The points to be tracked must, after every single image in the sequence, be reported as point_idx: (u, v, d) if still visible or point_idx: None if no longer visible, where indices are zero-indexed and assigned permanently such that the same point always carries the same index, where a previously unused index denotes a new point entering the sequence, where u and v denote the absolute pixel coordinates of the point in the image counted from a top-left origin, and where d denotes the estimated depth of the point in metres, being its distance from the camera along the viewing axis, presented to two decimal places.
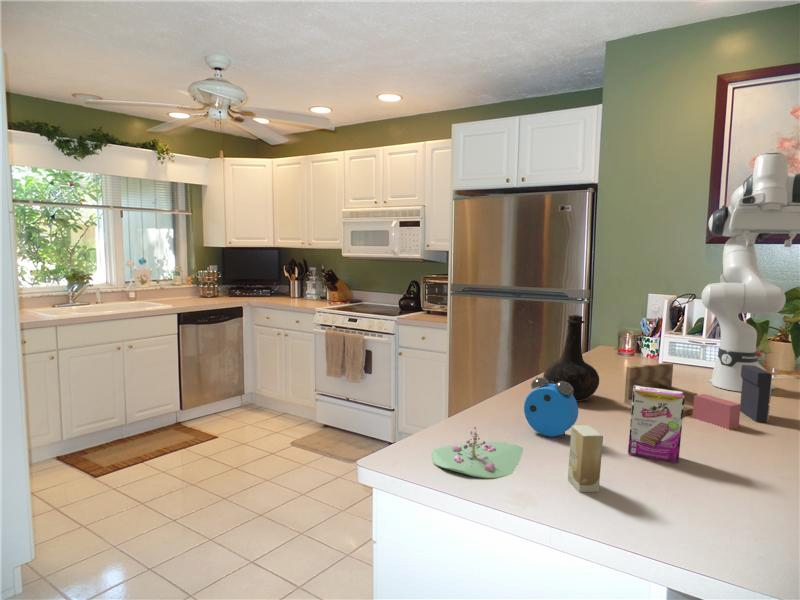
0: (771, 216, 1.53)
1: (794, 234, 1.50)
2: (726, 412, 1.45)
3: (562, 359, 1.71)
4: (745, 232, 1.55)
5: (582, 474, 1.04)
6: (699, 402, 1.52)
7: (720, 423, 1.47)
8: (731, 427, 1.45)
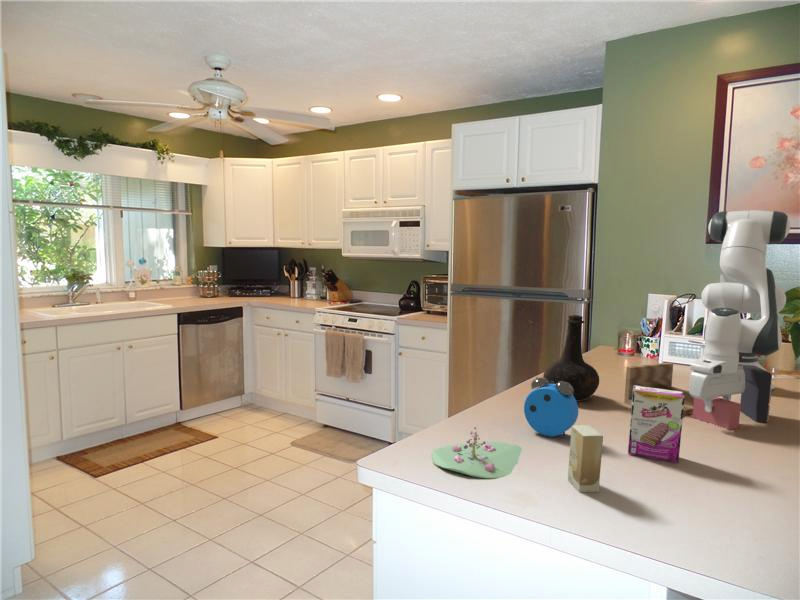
0: (724, 382, 1.48)
1: (729, 398, 1.51)
2: (726, 412, 1.45)
3: (562, 359, 1.71)
4: (710, 399, 1.47)
5: (582, 474, 1.04)
6: (699, 402, 1.52)
7: (720, 423, 1.47)
8: (731, 427, 1.45)
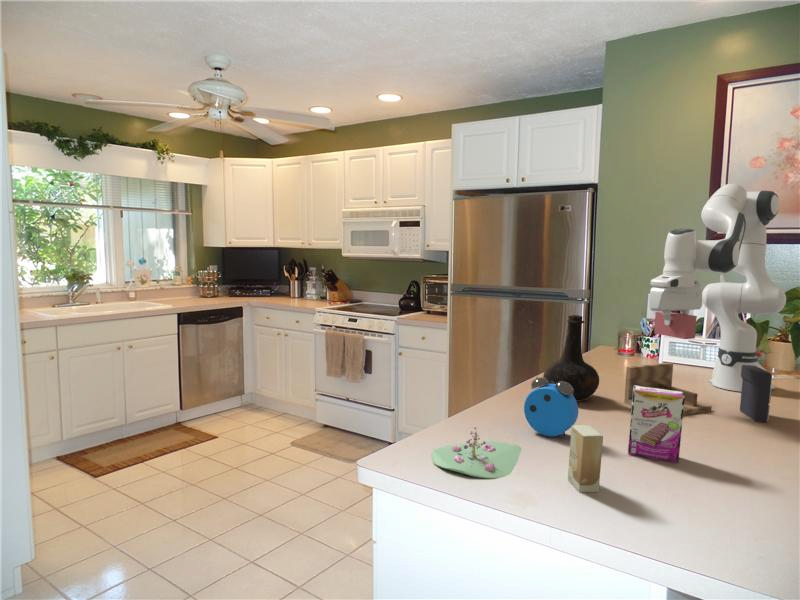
0: (681, 297, 1.60)
1: (687, 313, 1.62)
2: (683, 323, 1.57)
3: (562, 359, 1.71)
4: (669, 313, 1.59)
5: (582, 474, 1.04)
6: (659, 317, 1.64)
7: (677, 334, 1.59)
8: (688, 337, 1.57)
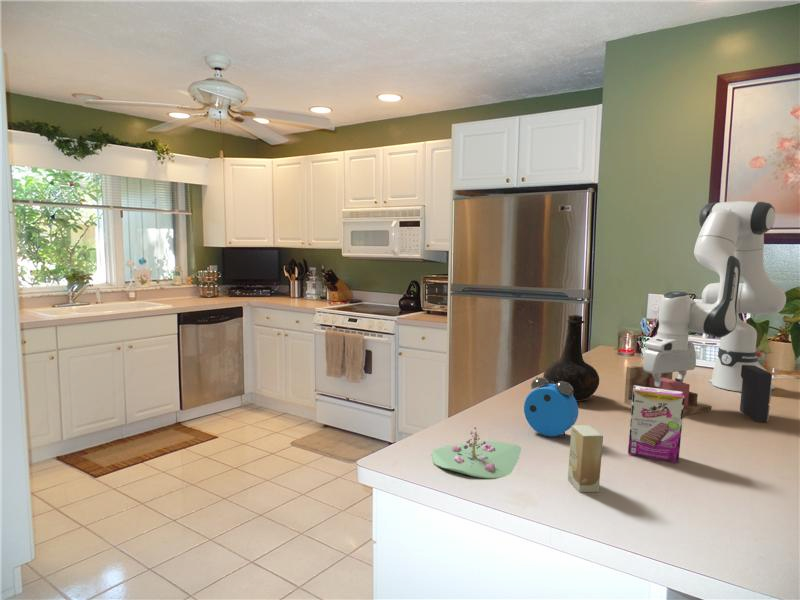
0: (675, 359, 1.62)
1: (685, 374, 1.65)
2: None
3: (562, 359, 1.71)
4: (659, 375, 1.60)
5: (582, 474, 1.04)
6: (653, 383, 1.67)
7: None
8: None
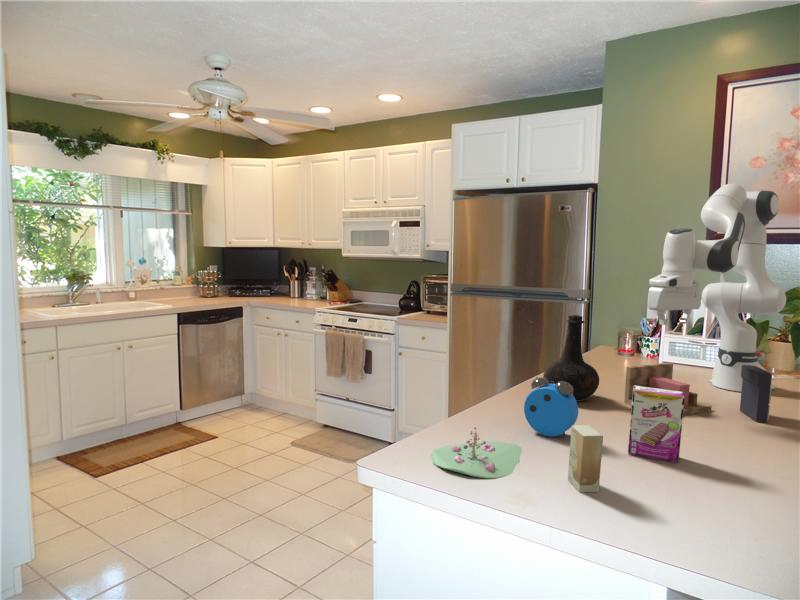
0: (680, 297, 1.60)
1: (690, 313, 1.63)
2: None
3: (562, 359, 1.71)
4: (663, 312, 1.58)
5: (582, 474, 1.04)
6: (653, 383, 1.67)
7: None
8: None
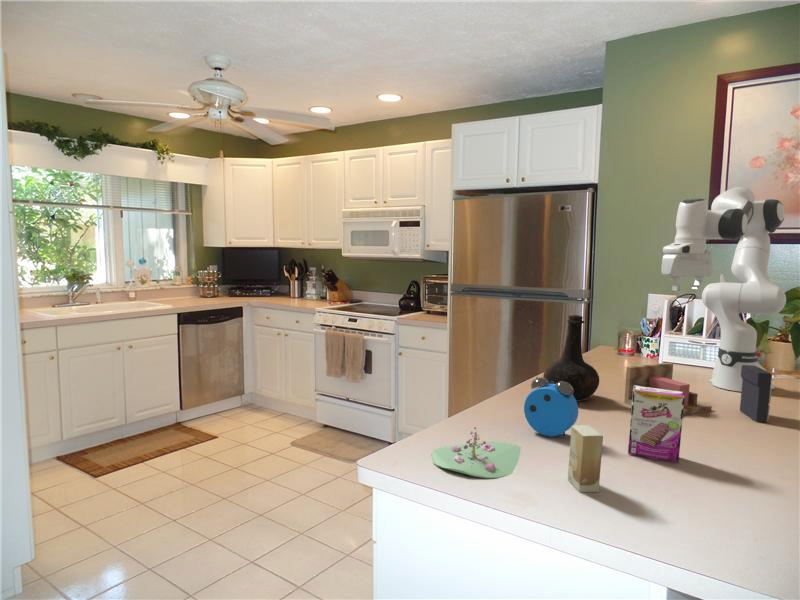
0: (692, 264, 1.67)
1: (701, 280, 1.70)
2: None
3: (562, 359, 1.71)
4: (677, 279, 1.65)
5: (582, 474, 1.04)
6: (653, 383, 1.67)
7: None
8: None
